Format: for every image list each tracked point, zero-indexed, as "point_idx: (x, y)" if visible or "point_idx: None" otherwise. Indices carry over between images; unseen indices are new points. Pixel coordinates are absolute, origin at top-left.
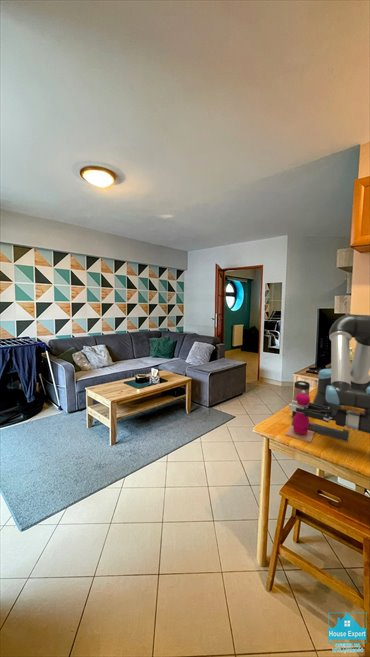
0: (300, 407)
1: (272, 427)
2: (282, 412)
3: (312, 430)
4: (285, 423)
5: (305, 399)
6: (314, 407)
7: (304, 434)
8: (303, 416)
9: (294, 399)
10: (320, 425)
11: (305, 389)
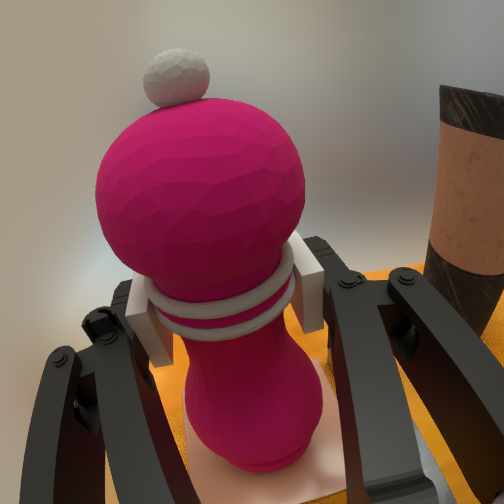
0: (133, 293)
1: None
2: (410, 266)
3: None
4: (322, 332)
5: (97, 199)
6: (347, 382)
7: None
8: (196, 388)
9: (433, 210)
10: (433, 473)
11: (494, 137)
